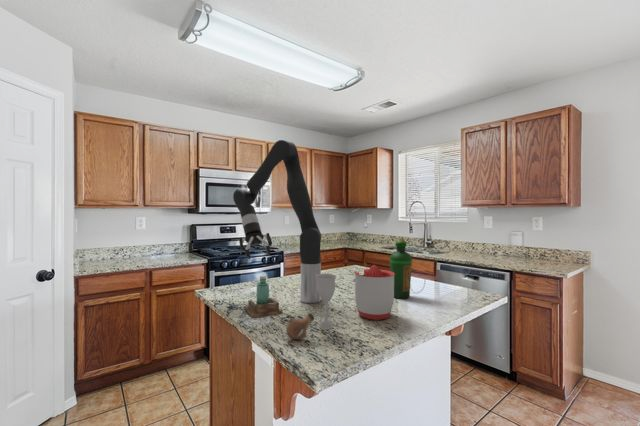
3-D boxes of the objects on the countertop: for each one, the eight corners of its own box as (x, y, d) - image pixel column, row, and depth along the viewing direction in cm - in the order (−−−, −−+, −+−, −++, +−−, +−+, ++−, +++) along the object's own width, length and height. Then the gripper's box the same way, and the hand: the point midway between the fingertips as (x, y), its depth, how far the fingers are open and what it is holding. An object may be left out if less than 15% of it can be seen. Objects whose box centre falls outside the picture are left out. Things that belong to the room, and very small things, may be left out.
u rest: (271, 305, 136) (271, 296, 136) (282, 313, 126) (282, 303, 126) (244, 309, 130) (244, 299, 130) (252, 317, 120) (252, 307, 120)
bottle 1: (268, 306, 131) (268, 274, 131) (269, 309, 126) (269, 277, 126) (256, 307, 130) (256, 275, 130) (256, 310, 125) (256, 277, 125)
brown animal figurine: (312, 335, 103) (313, 311, 103) (315, 340, 99) (315, 315, 99) (285, 338, 101) (285, 313, 101) (287, 343, 97) (287, 317, 97)
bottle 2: (414, 300, 146) (415, 239, 146) (391, 299, 146) (392, 239, 146) (408, 294, 157) (409, 237, 156) (387, 293, 157) (387, 237, 157)
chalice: (338, 324, 113) (338, 274, 113) (333, 331, 107) (333, 278, 107) (319, 322, 115) (319, 273, 115) (312, 328, 109) (313, 276, 109)
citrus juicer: (366, 306, 136) (366, 259, 136) (402, 315, 123) (402, 264, 123) (342, 314, 125) (342, 263, 125) (379, 325, 112) (379, 269, 112)
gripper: (236, 224, 142) (243, 256, 135) (267, 219, 147) (275, 250, 140) (235, 232, 148) (242, 263, 141) (265, 227, 153) (273, 257, 146)
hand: (259, 256), depth 140 cm, fingers open, 8 cm apart
